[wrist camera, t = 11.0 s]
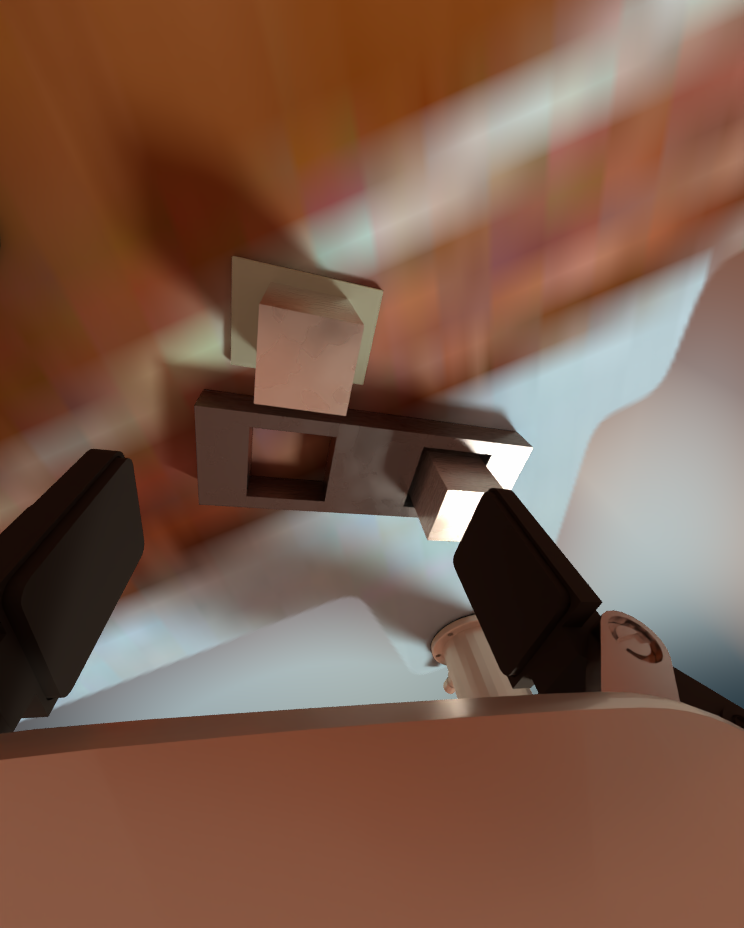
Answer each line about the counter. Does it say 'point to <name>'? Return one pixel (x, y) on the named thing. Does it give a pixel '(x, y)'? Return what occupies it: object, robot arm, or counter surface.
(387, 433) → the board with square holes
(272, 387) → the pale pink rectangular block
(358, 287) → the mat
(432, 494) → the brown wooden block
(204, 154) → the counter surface
